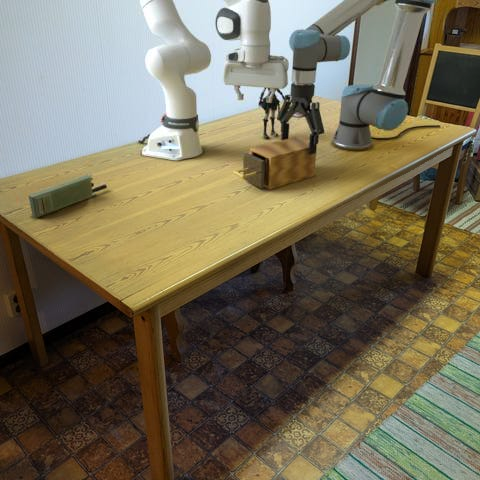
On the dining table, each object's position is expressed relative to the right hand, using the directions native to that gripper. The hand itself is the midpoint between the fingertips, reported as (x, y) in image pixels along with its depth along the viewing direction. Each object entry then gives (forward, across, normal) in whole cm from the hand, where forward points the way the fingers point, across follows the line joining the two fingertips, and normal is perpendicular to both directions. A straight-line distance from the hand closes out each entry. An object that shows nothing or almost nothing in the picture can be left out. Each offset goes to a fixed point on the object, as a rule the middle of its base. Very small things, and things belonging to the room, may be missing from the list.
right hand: (297, 148), depth 170 cm
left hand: (-16, +6, +14) cm, 22 cm away
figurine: (+9, +36, -18) cm, 42 cm away
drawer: (+8, 0, +13) cm, 15 cm away
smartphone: (+8, +55, -54) cm, 78 cm away
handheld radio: (+10, +21, +71) cm, 75 cm away
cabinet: (+9, 0, +6) cm, 11 cm away
